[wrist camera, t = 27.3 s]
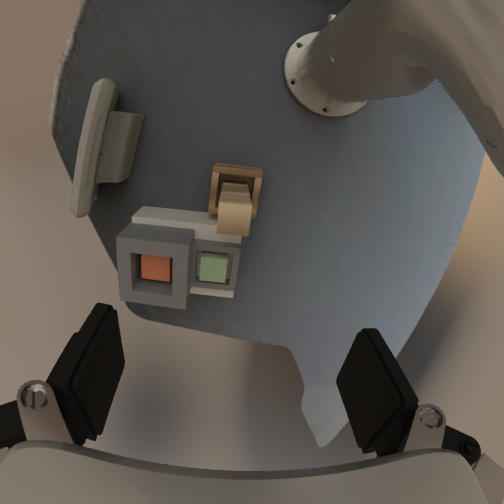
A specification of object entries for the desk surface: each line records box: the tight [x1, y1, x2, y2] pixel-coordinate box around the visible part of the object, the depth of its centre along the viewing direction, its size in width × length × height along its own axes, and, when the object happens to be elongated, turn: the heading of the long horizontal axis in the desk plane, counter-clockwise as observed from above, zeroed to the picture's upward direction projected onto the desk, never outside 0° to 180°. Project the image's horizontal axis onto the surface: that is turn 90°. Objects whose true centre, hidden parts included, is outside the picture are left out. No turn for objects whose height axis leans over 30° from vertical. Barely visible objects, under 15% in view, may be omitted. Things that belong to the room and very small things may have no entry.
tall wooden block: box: [217, 180, 252, 236], centre depth 32 cm, size 3×3×12 cm
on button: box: [199, 251, 228, 283], centre depth 36 cm, size 3×3×2 cm
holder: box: [208, 162, 263, 219], centre depth 36 cm, size 6×6×4 cm
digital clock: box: [71, 78, 145, 218], centre depth 29 cm, size 16×9×11 cm, turn 151°
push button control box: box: [116, 206, 242, 310], centre depth 36 cm, size 10×14×10 cm
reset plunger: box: [141, 254, 172, 282], centre depth 34 cm, size 4×4×2 cm
